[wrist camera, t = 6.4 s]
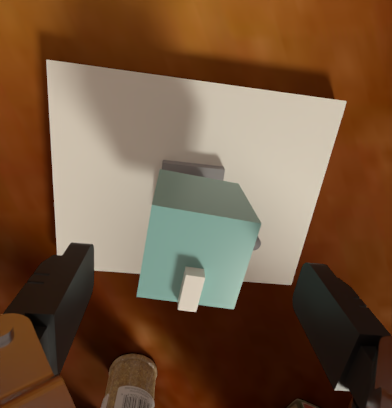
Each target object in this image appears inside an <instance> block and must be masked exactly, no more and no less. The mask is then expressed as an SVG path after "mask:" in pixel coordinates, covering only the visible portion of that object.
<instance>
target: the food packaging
mask: <svg viewBox="0 0 392 408" xmlns="http://www.w3.org/2000/svg"><path fill="white" fill-rule="evenodd" d="M286 408H319V407H317V406H315V405H313V404H311V403H308V402H306V401H303V400H301V399H296V400H294V401H293V402H292V403H291V404H290V405H289V406H287V407H286Z"/></svg>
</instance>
